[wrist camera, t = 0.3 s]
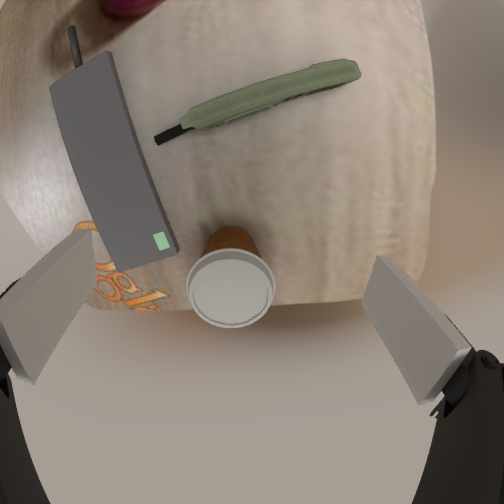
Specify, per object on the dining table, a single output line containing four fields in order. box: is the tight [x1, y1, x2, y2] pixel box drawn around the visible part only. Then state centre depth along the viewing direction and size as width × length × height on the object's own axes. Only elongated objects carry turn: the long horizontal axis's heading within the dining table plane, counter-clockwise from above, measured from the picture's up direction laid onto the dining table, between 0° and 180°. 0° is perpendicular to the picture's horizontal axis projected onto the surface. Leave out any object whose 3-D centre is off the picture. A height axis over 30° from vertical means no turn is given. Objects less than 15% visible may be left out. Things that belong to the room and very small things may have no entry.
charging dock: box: [49, 25, 180, 272], centre depth 30 cm, size 38×10×2 cm, turn 16°
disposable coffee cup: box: [186, 227, 276, 328], centre depth 34 cm, size 10×10×12 cm
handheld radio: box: [154, 59, 361, 145], centre depth 28 cm, size 7×3×25 cm
